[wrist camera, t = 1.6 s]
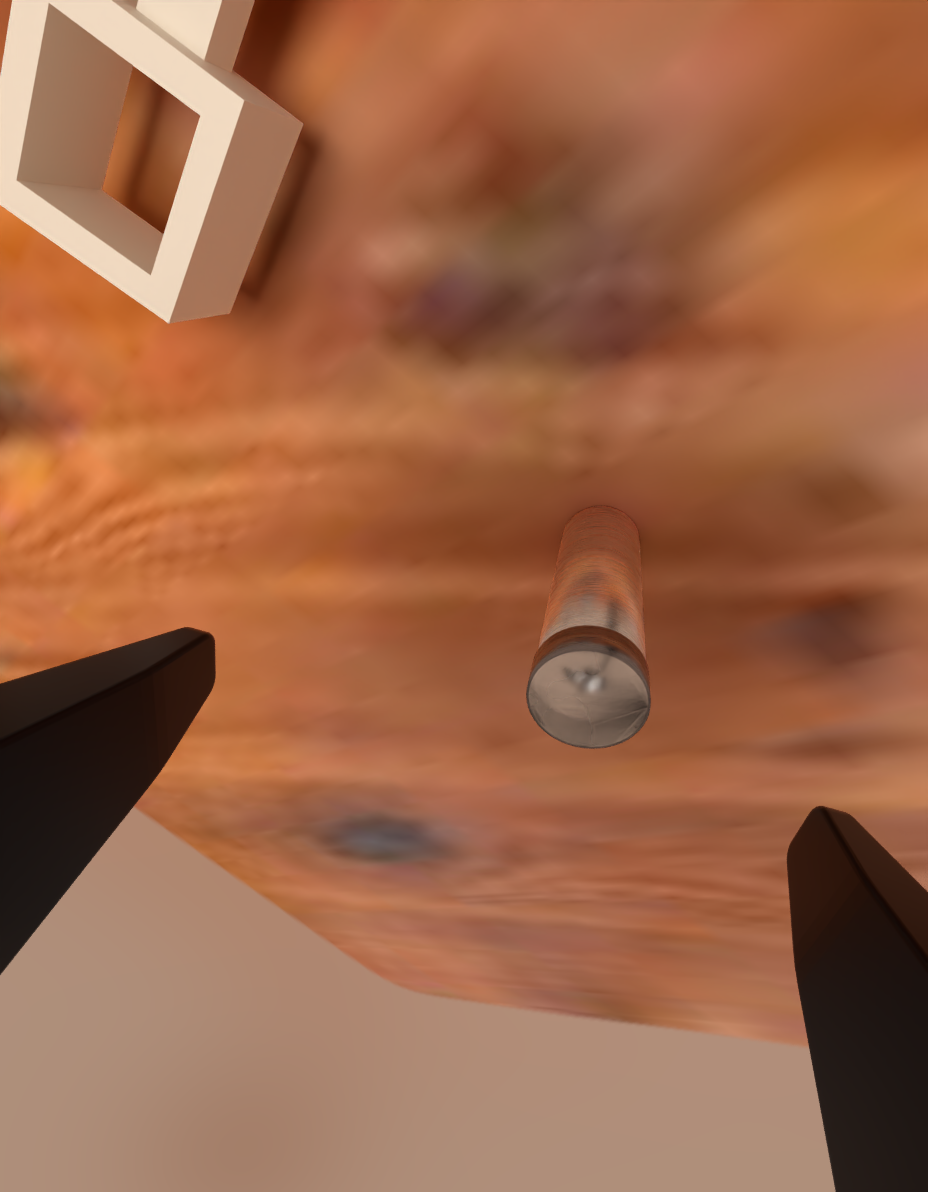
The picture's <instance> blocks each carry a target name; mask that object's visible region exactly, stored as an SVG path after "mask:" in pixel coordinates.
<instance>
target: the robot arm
mask: <svg viewBox="0 0 928 1192" xmlns="http://www.w3.org/2000/svg"><path fill="white" fill-rule="evenodd" d="M215 676H216V672H215V640H214V637H213V635H212V634H210V633H209V632H205V631H202V630H198V629H195V628H191V627H184V628H180V629H177V630H174V631H171V632H167V633H164V634H161V635H158V636H154V637H151V638H148V639H145V640H141V641H138V642H135V643H132V644H128V645H125V646H122V647H119V648H115V649H112V650H109V651H105V652H102V653H99V654H96V655H92V656H89V657H86V658H83V659H79V660H76V661H73V662H70V663H66V664H63V665H60V666H57V667H53V668H50V669H47V670H44V671H40V672H37V673H34V674H30V675H27V676H24V677H21V678H17V679H14V680H11V681H8V682H4V683H1V684H0V975H1V973H2V972H3V971H4V970H5V968H6V967H7V966H8V965H9V963H10V962H11V961H12V960H13V958H14V957H15V956H16V954H17V953H18V952H19V951H20V949H21V948H22V947H23V946H24V944H25V943H26V942H27V941H28V939H29V938H30V937H31V936H32V934H33V933H34V932H35V930H36V929H37V928H38V927H39V925H40V924H41V923H42V921H43V920H44V919H45V918H46V916H47V915H48V914H49V913H50V911H51V910H52V909H53V908H54V906H55V905H56V904H57V903H58V901H59V900H60V899H61V897H62V896H63V895H64V894H65V892H66V891H67V890H68V889H69V887H70V886H71V885H72V884H73V882H74V881H75V880H76V879H77V877H78V876H79V875H80V874H81V872H82V871H83V870H84V868H85V867H86V866H87V864H88V863H89V862H90V861H91V860H92V858H93V857H94V856H95V854H96V853H97V852H98V851H99V849H100V848H101V847H102V846H103V844H104V843H105V842H106V841H107V839H108V838H109V837H110V836H111V834H112V833H113V832H114V830H115V829H116V828H117V827H118V825H119V824H120V823H121V822H122V820H123V819H124V818H125V816H126V815H127V814H128V813H129V812H130V810H131V809H132V808H133V806H134V805H135V804H136V803H137V801H138V800H139V799H140V798H141V796H142V795H143V794H144V793H145V791H146V790H147V789H148V787H149V786H150V785H151V784H152V782H153V781H154V780H155V778H156V777H157V776H158V774H159V773H160V772H161V770H162V769H163V767H164V766H165V764H166V763H167V761H168V760H169V758H170V756H171V755H172V753H173V752H174V750H175V748H176V747H177V745H178V744H179V742H180V740H181V739H182V737H183V736H184V734H185V732H186V731H187V729H188V728H189V726H190V724H191V723H192V721H193V720H194V718H195V716H196V715H197V713H198V712H199V710H200V709H201V707H202V705H203V704H204V702H205V701H206V699H207V697H208V696H209V694H210V692H211V691H212V688H213V686H214V683H215ZM787 871H788V885H789V899H790V913H791V927H792V941H793V953H794V963H795V971H796V977H797V983H798V989H799V995H800V1000H801V1005H802V1011H803V1016H804V1022H805V1027H806V1033H807V1038H808V1043H809V1049H810V1054H811V1060H812V1065H813V1071H814V1076H815V1082H816V1087H817V1092H818V1098H819V1103H820V1108H821V1114H822V1119H823V1125H824V1131H825V1136H826V1141H827V1146H828V1152H829V1157H830V1163H831V1169H832V1174H833V1179H834V1185H835V1190H836V1192H928V892H927V891H926V890H925V889H924V888H923V887H922V886H921V885H920V884H919V883H918V882H917V881H916V880H915V879H914V878H913V877H912V876H911V875H910V874H909V873H908V872H907V871H906V870H905V869H904V868H903V867H902V866H901V865H900V864H899V863H898V862H897V861H896V860H895V859H894V858H893V857H892V856H891V855H890V854H889V853H888V852H887V851H886V850H885V849H884V848H883V847H882V846H881V845H880V844H879V843H878V842H877V841H876V840H875V839H874V838H873V837H872V836H871V835H870V834H869V833H868V832H867V831H866V830H865V829H864V828H863V827H862V826H861V825H860V824H859V823H858V822H857V821H856V820H855V819H854V818H853V817H852V816H851V815H850V814H848V813H846V812H843V811H839V810H835V809H832V808H828V807H825V806H817V807H815V808H814V809H812V811H811V812H810V813H809V815H808V816H807V818H806V820H805V821H804V823H803V824H802V826H801V827H800V829H799V830H798V832H797V834H796V835H795V837H794V838H793V840H792V841H791V843H790V846H789V848H788V853H787Z"/></svg>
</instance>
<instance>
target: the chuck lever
mask: <svg viewBox="0 0 928 1192" xmlns="http://www.w3.org/2000/svg"><path fill="white" fill-rule="evenodd" d="M254 2H255V0H12V6H11V12H10V18H9V25H8V31H7V37H6V44H5V50H4V56H3V63H2V69H1V75H0V205H1V206H2V207H4V208H5V209H7V210H8V211H10V212H11V213H12V214H14V215H15V216H17V217H18V218H20V219H21V220H22V221H24V222H25V223H27V224H28V225H29V226H31V227H32V228H34V229H35V230H37V231H38V232H39V233H41V234H42V235H44V236H45V237H47V238H48V239H49V240H51V241H52V242H54V243H55V244H56V245H58V246H59V247H61V248H62V249H64V250H65V251H66V252H68V253H69V254H71V255H72V256H74V257H75V258H76V259H78V260H79V261H81V262H82V263H84V264H85V265H86V266H88V267H89V268H91V269H92V270H93V271H95V272H96V273H98V274H99V275H101V276H102V277H103V278H105V279H106V280H108V281H109V282H111V283H112V284H113V285H115V286H116V287H118V288H119V289H120V290H122V291H123V292H125V293H126V294H128V295H129V296H130V297H132V298H133V299H135V300H136V301H138V302H139V303H140V304H142V305H143V306H145V307H146V308H148V309H149V310H150V311H152V312H153V313H155V314H156V315H157V316H159V317H160V318H162V319H163V320H165V321H166V322H167V323H174V322H181V321H187V320H193V319H199V318H205V317H212V316H218V315H224V314H230V312H231V309H232V307H233V304H234V302H235V299H236V297H237V294H238V291H239V289H240V286H241V284H242V281H243V279H244V276H245V273H246V271H247V268H248V266H249V263H250V261H251V258H252V255H253V253H254V250H255V248H256V245H257V243H258V240H259V237H260V235H261V232H262V230H263V227H264V225H265V222H266V219H267V217H268V214H269V212H270V209H271V207H272V204H273V201H274V199H275V196H276V194H277V191H278V189H279V186H280V183H281V181H282V178H283V176H284V173H285V171H286V168H287V165H288V163H289V160H290V158H291V155H292V153H293V150H294V147H295V145H296V142H297V140H298V137H299V135H300V132H301V129H302V127H303V123H302V122H301V121H299V120H298V119H297V118H296V117H294V116H293V115H292V114H290V113H289V112H288V111H286V110H285V109H284V108H282V107H281V106H280V105H278V104H277V103H276V102H274V101H273V100H272V99H270V98H269V97H268V96H267V95H265V94H264V93H263V92H261V91H260V90H259V89H257V88H256V87H255V86H253V85H252V84H251V83H249V82H248V81H247V80H245V79H244V78H243V77H241V76H240V75H239V74H237V73H236V72H235V71H234V70H233V67H234V63H235V60H236V57H237V54H238V51H239V48H240V45H241V42H242V39H243V36H244V32H245V29H246V26H247V23H248V20H249V17H250V14H251V11H252V8H253V5H254ZM133 66H134V67H136V68H137V69H138V70H140V71H141V72H143V73H144V74H145V75H147V76H148V77H149V78H151V79H152V80H153V81H155V82H156V83H157V84H159V85H160V86H161V87H163V88H164V89H165V90H167V91H168V92H169V93H171V94H172V95H173V96H175V97H176V98H177V99H179V100H180V101H181V102H183V103H184V104H185V105H187V106H188V107H189V108H191V109H192V110H194V111H195V112H196V113H198V114H199V115H200V119H199V122H198V125H197V128H196V132H195V135H194V138H193V141H192V145H191V148H190V151H189V154H188V157H187V161H186V164H185V167H184V170H183V174H182V177H181V180H180V183H179V186H178V190H177V193H176V196H175V199H174V203H173V206H172V209H171V212H170V215H169V219H168V222H167V225H166V228H165V232H164V234H162V233H161V232H160V231H158V230H157V229H156V228H154V227H153V226H151V225H150V224H149V223H147V222H146V221H144V220H143V219H142V218H140V217H139V216H137V215H136V214H135V213H133V212H132V211H130V210H129V209H128V208H126V207H125V206H124V205H122V204H121V203H119V202H118V201H117V200H115V199H114V198H112V197H111V196H110V195H108V194H107V193H105V192H104V191H103V190H102V187H103V183H104V179H105V175H106V171H107V167H108V163H109V159H110V155H111V151H112V147H113V143H114V140H115V136H116V132H117V128H118V124H119V120H120V116H121V112H122V108H123V104H124V100H125V96H126V92H127V88H128V84H129V80H130V76H131V72H132V68H133Z"/></svg>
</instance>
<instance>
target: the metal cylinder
mask: <svg viewBox="0 0 928 1192" xmlns="http://www.w3.org/2000/svg"><path fill="white" fill-rule="evenodd" d="M526 696H527V704H528V708H529V711H530V713H531V715H532V717H533V719H534V720H535V721H536V723H537V724H538V725H539V726H540V727H541V728H542V729H543V730H544V731H545V732H546V733H547V734H549V735H550V736H552V737H553V738H555V739H557V740H559V741H561V742H563V743H566V744H568V745H572V746H575V747H581V748H591V749H594V748H605V747H610V746H614V745H617V744H620V743H622V742H624V741H626V740H628V739H629V738H631V737H632V736H634V735H635V734H636V733H637V732H638V731H639V730H640V729H641V728H642V726H643V725H644V723H645V722H646V720H647V718H648V715H649V711H650V704H651V698H650V682H649V670H648V665H647V662H646V650H645V631H644V613H643V594H642V576H641V557H640V539H639V533H638V530H637V527H636V525H635V524H634V522H633V521H632V520H631V518H630V517H629V516H628V515H626V514H625V513H624V512H622V511H620V510H618V509H616V508H613V507H608V506H594V507H589V508H586V509H584V510H582V511H580V512H578V513H577V514H575V515H574V516H573V517H572V518H571V519H570V520H569V522H568V523H567V525H566V526H565V529H564V531H563V535H562V539H561V544H560V549H559V553H558V558H557V562H556V567H555V572H554V576H553V581H552V586H551V590H550V595H549V599H548V604H547V609H546V613H545V618H544V623H543V627H542V632H541V636H540V641H539V646H538V650H537V652H536V654H535V657H534V660H533V663H532V668H531V672H530V677H529V681H528V686H527V693H526Z"/></svg>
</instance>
